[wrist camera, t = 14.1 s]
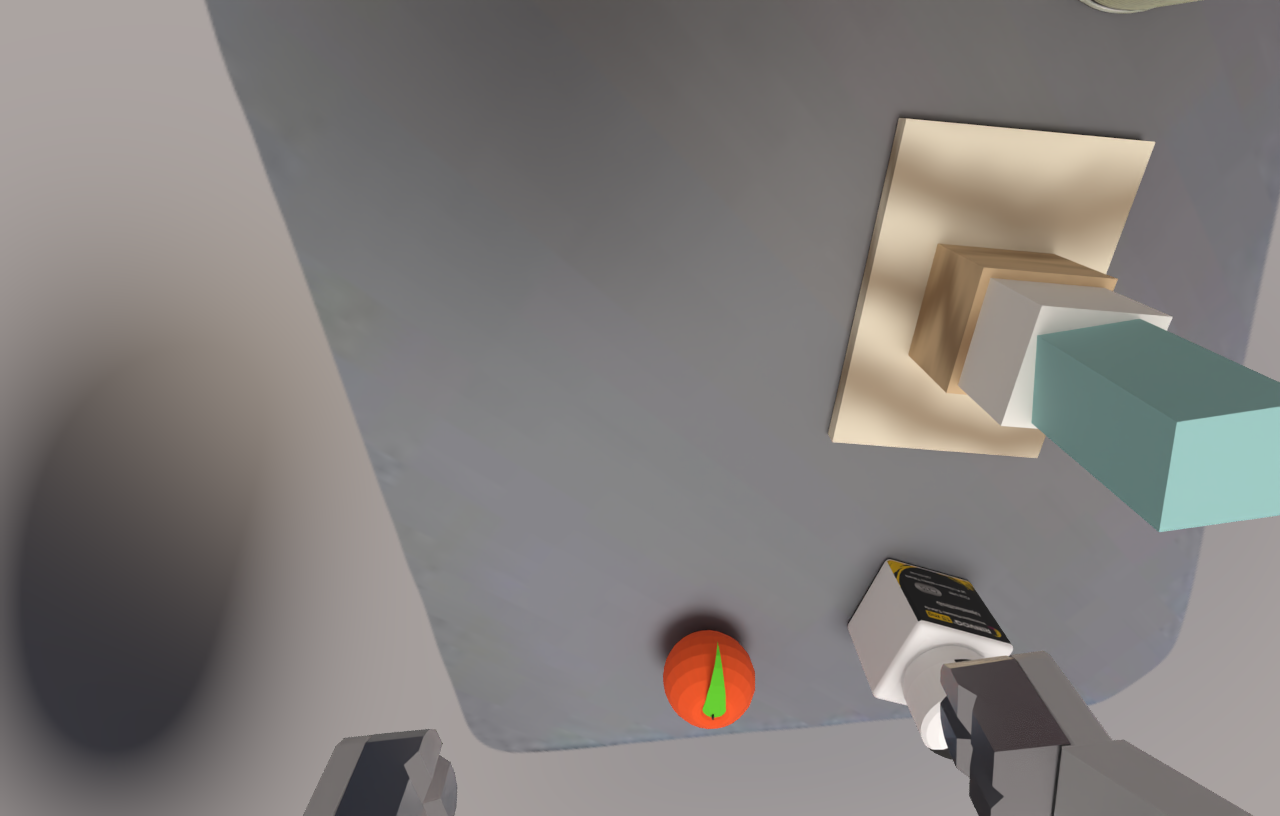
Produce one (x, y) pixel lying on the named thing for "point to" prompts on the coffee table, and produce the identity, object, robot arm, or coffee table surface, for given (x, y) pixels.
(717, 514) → the coffee table surface
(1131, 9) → the coffee can
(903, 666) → the medicine bottle
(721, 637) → the clementine
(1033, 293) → the white block
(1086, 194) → the birch board
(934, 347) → the oak block
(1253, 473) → the teal block
